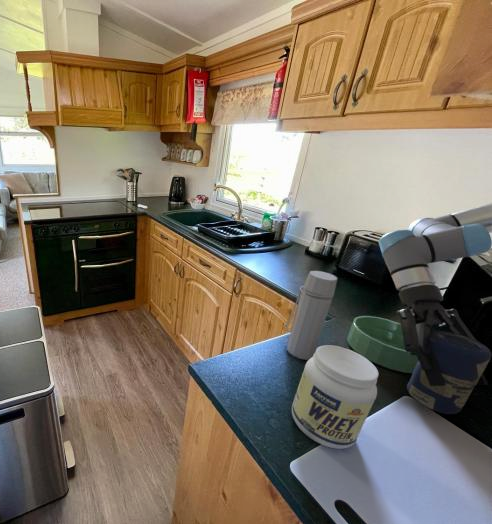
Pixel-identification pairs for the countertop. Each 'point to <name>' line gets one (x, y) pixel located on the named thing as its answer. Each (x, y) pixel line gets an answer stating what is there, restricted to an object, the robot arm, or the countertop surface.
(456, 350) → the canister
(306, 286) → the water bottle
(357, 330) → the green pet bowl
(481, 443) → the countertop surface
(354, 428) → the supplement tub
